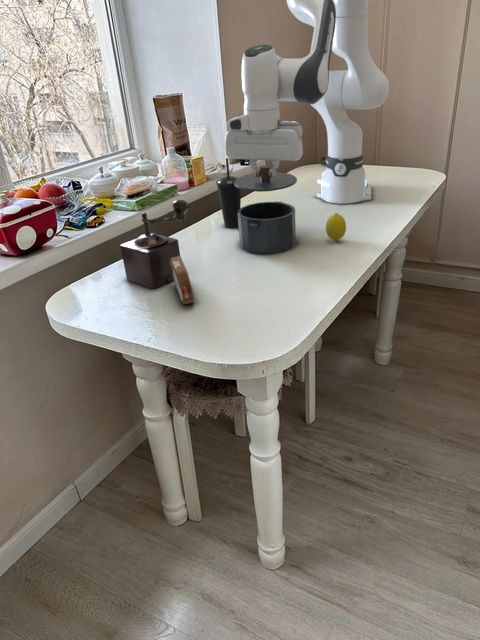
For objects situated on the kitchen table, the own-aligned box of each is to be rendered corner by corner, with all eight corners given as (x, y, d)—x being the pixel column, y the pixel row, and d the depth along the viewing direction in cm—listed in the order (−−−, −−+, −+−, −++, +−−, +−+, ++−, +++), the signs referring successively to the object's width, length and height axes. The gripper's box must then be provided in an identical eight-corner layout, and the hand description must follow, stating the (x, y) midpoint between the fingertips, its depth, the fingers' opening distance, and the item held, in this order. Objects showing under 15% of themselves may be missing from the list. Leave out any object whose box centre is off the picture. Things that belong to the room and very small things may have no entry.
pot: (227, 255, 145) (224, 221, 140) (255, 229, 162) (253, 197, 157) (282, 260, 140) (281, 225, 135) (305, 232, 157) (304, 200, 152)
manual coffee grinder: (155, 290, 128) (142, 217, 119) (125, 280, 134) (111, 209, 125) (200, 268, 139) (191, 198, 129) (170, 259, 145) (160, 192, 135)
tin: (196, 308, 119) (191, 274, 115) (182, 311, 119) (177, 276, 114) (185, 282, 132) (180, 249, 127) (172, 284, 131) (167, 251, 126)
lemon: (344, 245, 147) (345, 216, 143) (324, 244, 148) (324, 216, 144) (346, 237, 152) (347, 210, 147) (326, 237, 153) (326, 209, 148)
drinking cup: (230, 220, 170) (224, 154, 159) (249, 223, 166) (245, 156, 155) (215, 227, 165) (208, 160, 154) (234, 231, 161) (229, 162, 150)
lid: (224, 192, 138) (222, 174, 136) (248, 174, 151) (247, 158, 149) (285, 195, 133) (284, 176, 131) (304, 177, 146) (304, 159, 143)
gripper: (305, 118, 133) (306, 174, 140) (230, 118, 139) (234, 172, 147) (298, 123, 128) (299, 181, 135) (220, 122, 134) (225, 178, 142)
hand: (265, 176), depth 141 cm, fingers closed on lid, 2 cm apart
